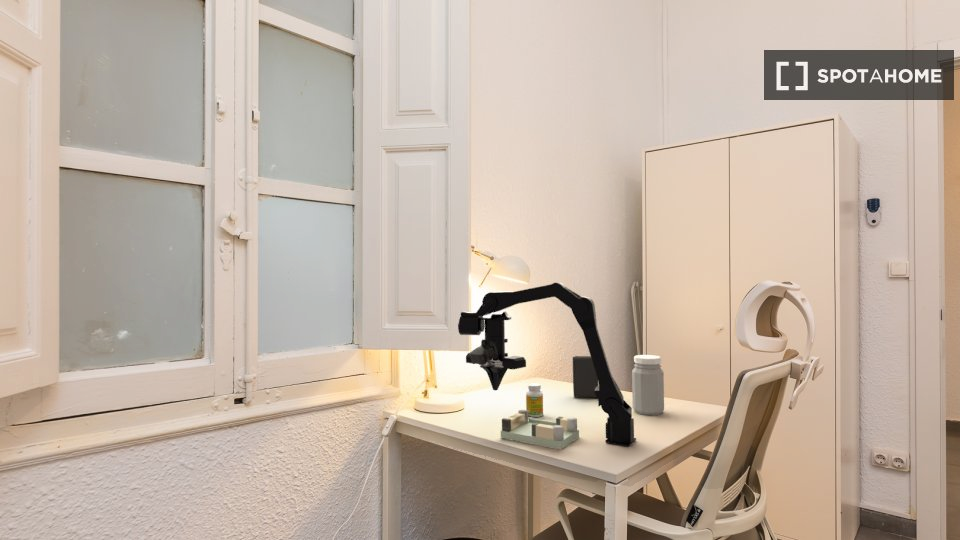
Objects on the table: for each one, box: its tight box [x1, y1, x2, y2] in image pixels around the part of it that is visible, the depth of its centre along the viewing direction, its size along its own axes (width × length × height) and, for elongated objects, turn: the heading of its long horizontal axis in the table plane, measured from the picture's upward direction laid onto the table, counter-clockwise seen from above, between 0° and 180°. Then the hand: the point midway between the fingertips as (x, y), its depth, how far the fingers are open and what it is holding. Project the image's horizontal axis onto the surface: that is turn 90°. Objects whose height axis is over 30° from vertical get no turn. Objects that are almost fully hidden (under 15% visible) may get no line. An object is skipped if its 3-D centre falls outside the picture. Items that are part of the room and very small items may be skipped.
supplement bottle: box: [525, 383, 544, 418], centre depth 162 cm, size 5×5×10 cm
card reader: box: [572, 355, 599, 399], centre depth 185 cm, size 9×4×15 cm, turn 82°
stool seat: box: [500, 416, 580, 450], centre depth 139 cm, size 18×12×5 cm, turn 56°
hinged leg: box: [501, 409, 529, 432], centre depth 143 cm, size 12×3×3 cm, turn 146°
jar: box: [631, 354, 665, 416], centre depth 164 cm, size 10×10×18 cm
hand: (495, 390), depth 144 cm, fingers closed
